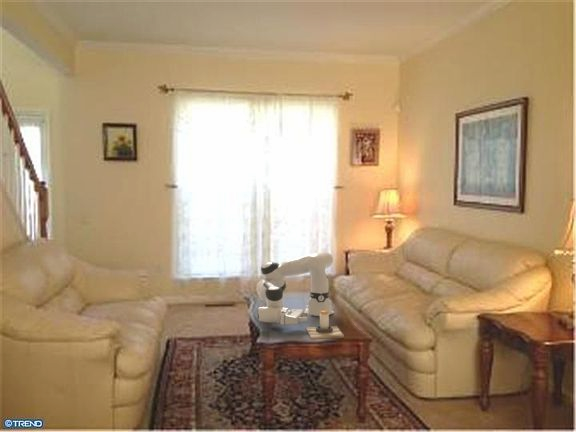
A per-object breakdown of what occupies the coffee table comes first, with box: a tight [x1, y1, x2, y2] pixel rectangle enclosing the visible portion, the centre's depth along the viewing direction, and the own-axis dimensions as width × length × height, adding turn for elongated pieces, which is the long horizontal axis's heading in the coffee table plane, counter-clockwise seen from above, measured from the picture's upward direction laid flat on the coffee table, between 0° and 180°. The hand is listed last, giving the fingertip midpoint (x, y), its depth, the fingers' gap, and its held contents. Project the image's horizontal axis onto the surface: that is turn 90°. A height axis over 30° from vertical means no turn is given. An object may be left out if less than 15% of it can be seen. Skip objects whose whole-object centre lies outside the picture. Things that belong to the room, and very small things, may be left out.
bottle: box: [319, 310, 330, 329], centre depth 292 cm, size 5×5×11 cm
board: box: [305, 325, 345, 340], centre depth 292 cm, size 18×18×3 cm
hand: (309, 317), depth 293 cm, fingers open, 8 cm apart
